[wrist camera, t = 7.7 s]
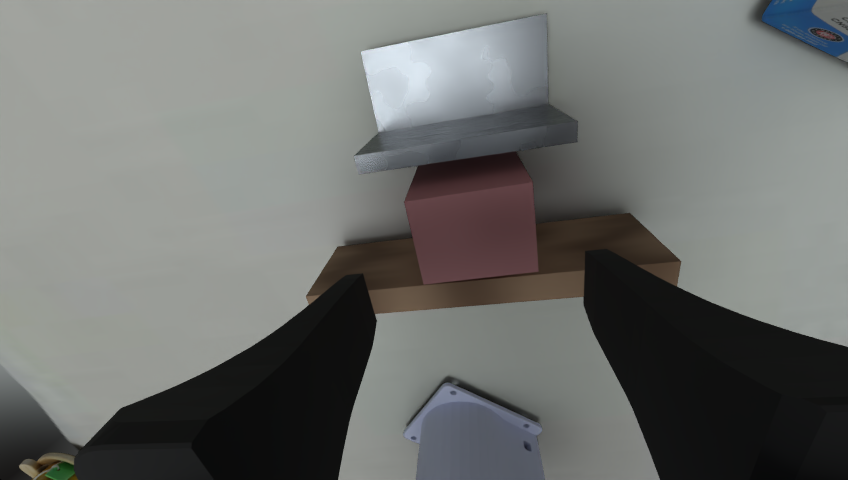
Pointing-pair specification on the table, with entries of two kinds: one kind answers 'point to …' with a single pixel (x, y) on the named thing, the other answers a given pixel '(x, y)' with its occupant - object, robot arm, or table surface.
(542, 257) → the shelf wall
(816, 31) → the ink box
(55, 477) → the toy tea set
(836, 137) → the table surface
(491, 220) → the mauve rectangular block
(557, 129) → the bookend
